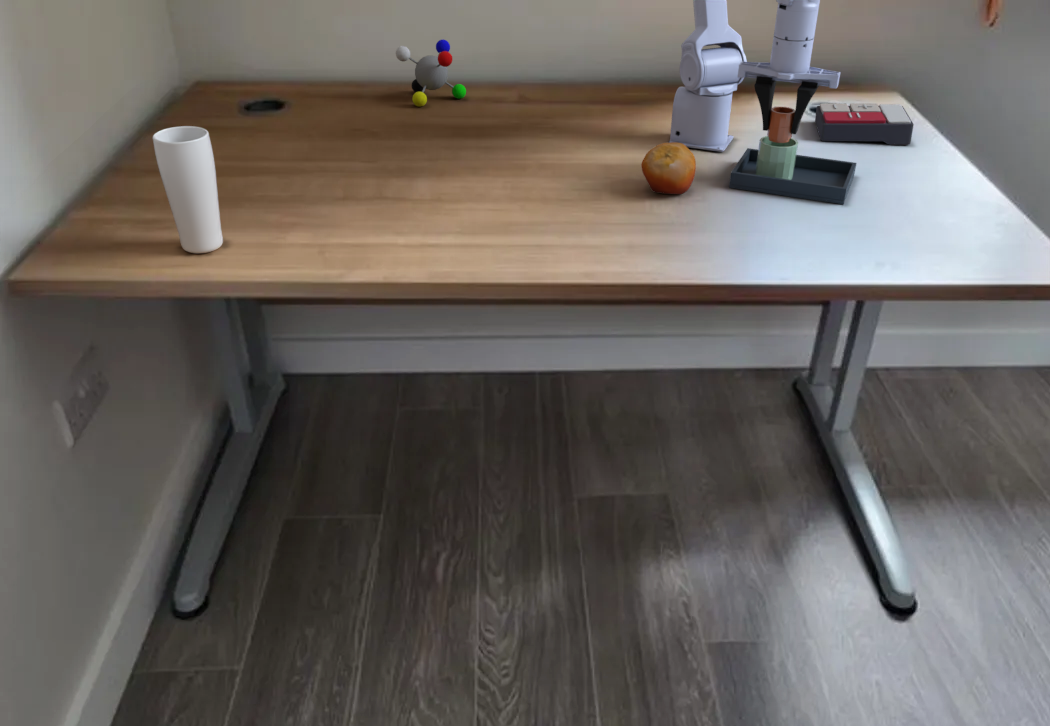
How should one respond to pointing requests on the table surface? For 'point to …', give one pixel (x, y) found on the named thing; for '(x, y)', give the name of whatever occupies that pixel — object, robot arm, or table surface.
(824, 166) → the tray
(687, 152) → the fruit
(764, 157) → the green cup
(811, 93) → the robot arm
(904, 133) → the grey and red box
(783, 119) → the brown cup
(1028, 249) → the table surface
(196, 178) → the drinking glass
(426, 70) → the molecular model
